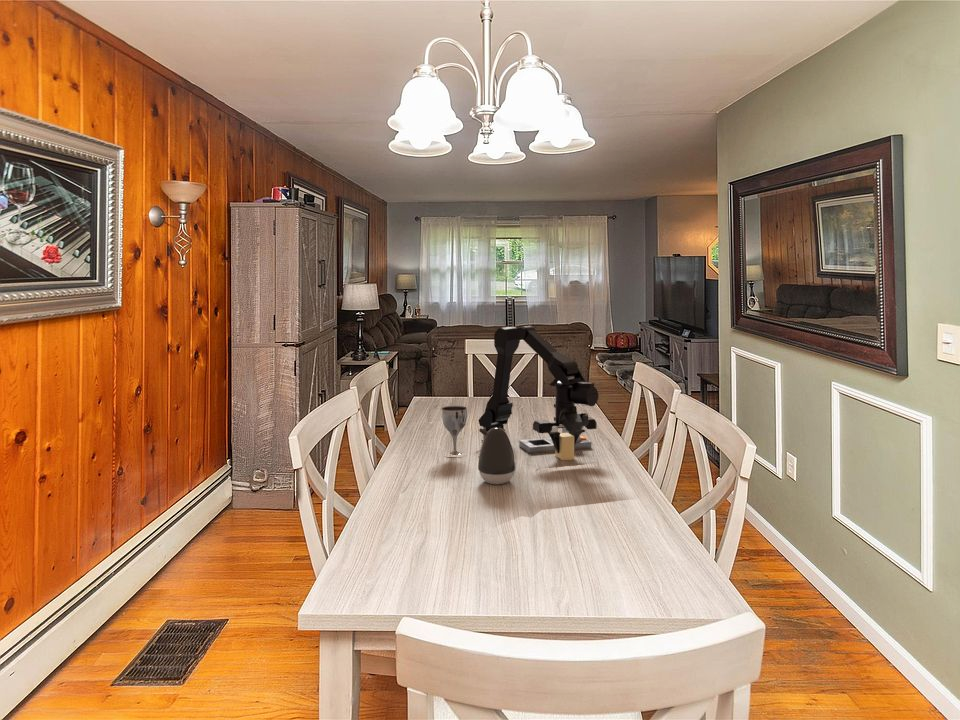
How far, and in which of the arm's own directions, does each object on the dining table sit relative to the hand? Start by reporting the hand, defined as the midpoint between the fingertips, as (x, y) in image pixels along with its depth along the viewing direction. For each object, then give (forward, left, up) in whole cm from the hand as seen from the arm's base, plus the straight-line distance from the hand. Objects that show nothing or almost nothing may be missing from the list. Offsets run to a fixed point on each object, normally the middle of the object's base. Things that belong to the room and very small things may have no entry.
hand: (564, 452), depth 202 cm
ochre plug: (0, 0, -3) cm, 3 cm away
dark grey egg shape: (-26, -13, -3) cm, 29 cm away
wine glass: (-30, +17, -3) cm, 35 cm away
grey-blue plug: (+8, +12, -2) cm, 14 cm away
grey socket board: (+2, +12, -2) cm, 12 cm away
